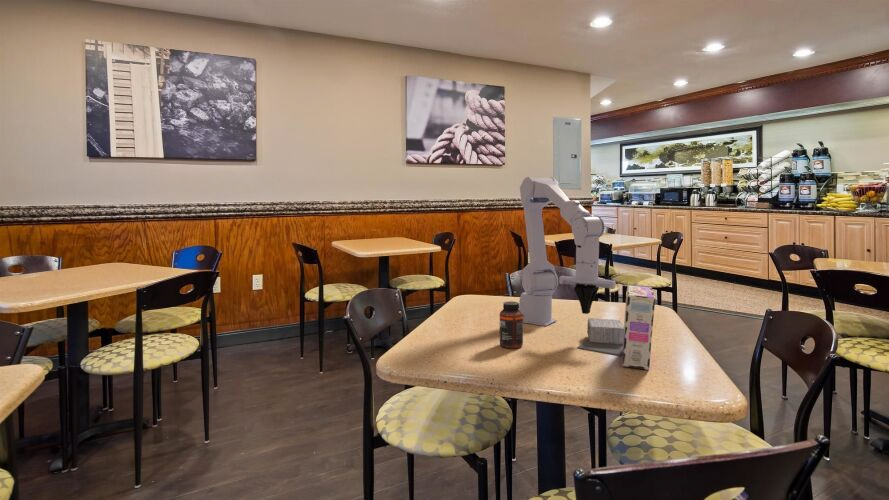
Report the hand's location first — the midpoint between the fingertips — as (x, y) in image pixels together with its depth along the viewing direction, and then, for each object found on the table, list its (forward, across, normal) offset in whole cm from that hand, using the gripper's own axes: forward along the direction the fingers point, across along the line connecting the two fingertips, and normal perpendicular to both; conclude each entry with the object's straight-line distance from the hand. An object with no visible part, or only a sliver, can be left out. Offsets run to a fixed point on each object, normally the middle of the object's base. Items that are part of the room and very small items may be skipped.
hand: (585, 313), depth 131 cm
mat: (+7, +6, 0) cm, 10 cm away
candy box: (+8, +15, -9) cm, 19 cm away
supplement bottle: (+8, -14, -16) cm, 22 cm away
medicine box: (+5, 0, +1) cm, 5 cm away
